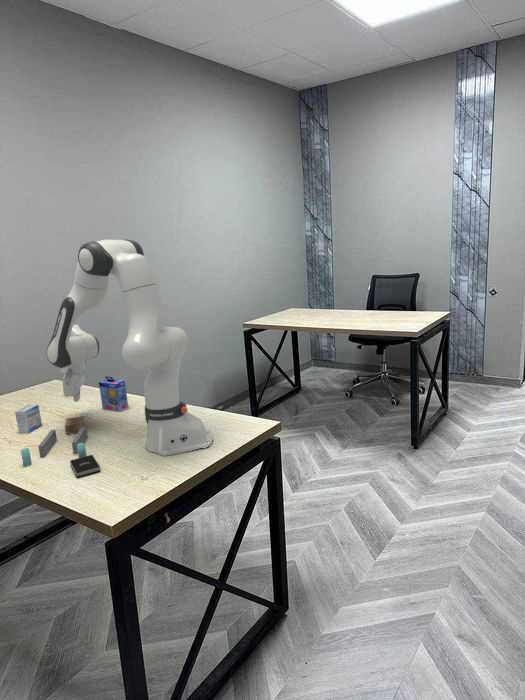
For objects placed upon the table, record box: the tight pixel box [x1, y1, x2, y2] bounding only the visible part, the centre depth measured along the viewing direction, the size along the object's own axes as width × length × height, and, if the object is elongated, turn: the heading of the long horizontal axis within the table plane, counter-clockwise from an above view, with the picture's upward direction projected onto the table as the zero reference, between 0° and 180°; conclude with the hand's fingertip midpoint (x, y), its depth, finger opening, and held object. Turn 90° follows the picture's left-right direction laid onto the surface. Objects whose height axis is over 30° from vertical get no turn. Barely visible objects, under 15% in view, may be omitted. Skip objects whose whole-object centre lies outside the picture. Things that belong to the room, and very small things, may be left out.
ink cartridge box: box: [98, 376, 129, 413], centre depth 199 cm, size 10×6×14 cm, turn 64°
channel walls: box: [37, 426, 88, 458], centre depth 164 cm, size 12×14×4 cm
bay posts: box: [20, 442, 87, 467], centre depth 153 cm, size 19×2×5 cm, turn 98°
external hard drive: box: [69, 454, 101, 479], centre depth 148 cm, size 7×11×2 cm, turn 31°
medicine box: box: [14, 404, 43, 434], centre depth 182 cm, size 8×4×9 cm, turn 168°
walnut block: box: [64, 415, 86, 436], centre depth 179 cm, size 6×8×4 cm
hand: (77, 400), depth 186 cm, fingers closed
